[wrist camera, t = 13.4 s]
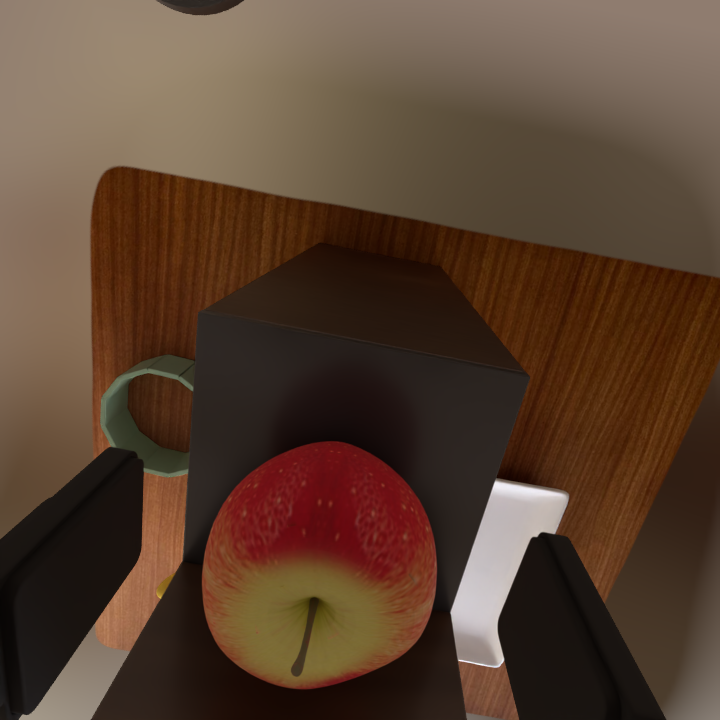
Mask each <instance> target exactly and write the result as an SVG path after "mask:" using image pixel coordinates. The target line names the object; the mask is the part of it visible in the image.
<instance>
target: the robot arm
mask: <svg viewBox="0 0 720 720" xmlns="http://www.w3.org/2000/svg"><path fill="white" fill-rule="evenodd" d="M143 477H144V462H143V460H142V459H139V458H138V455H137V453H136V452H135V451H131V450H126V449H121V448H116V447H109V448H107V449H106V450H105V451H104V452H102V453H101V454H100V455H99V456H98V457H97V458H96V459H94V460H93V461H92V462H91V463H90V464H89V465H88V466H87V467H85V468H84V469H83V470H82V471H81V472H80V473H79V474H78V475H76V476H75V477H74V478H73V479H72V480H71V481H70V482H69V483H67V484H66V485H65V486H64V487H63V488H62V489H61V490H59V491H58V492H57V493H56V494H55V495H54V496H53V497H51V498H48V499H47V500H45V501H44V502H43V503H41V504H40V505H39V506H38V507H37V508H36V509H34V510H33V511H32V512H31V513H30V514H29V515H28V516H26V517H25V518H24V519H23V520H22V521H21V522H20V523H19V524H17V525H16V526H15V527H14V528H13V529H12V530H11V531H9V532H8V533H7V534H6V535H5V536H4V537H3V538H1V539H0V720H19V718H20V717H21V715H22V714H24V715H29V714H30V713H31V712H33V711H34V710H35V708H36V707H37V706H38V704H39V703H40V702H41V700H42V699H43V697H44V696H45V694H46V693H47V691H48V690H49V689H50V687H51V686H52V684H53V683H54V681H55V680H56V678H57V677H58V675H59V674H60V673H61V671H62V670H63V668H64V667H65V665H66V664H67V663H68V661H69V660H70V658H71V657H72V655H73V654H74V652H75V651H76V649H77V648H78V647H79V645H80V644H81V642H82V641H83V639H84V638H85V637H86V635H87V634H88V632H89V631H90V629H91V628H92V626H93V625H94V624H95V622H96V621H97V619H98V618H99V616H100V615H101V613H102V612H103V611H104V609H105V608H106V606H107V605H108V603H109V602H110V600H111V599H112V598H113V596H114V595H115V593H116V592H117V590H118V589H119V587H120V586H121V585H122V583H123V582H124V580H125V579H126V577H127V576H128V574H129V573H130V572H131V570H132V569H133V567H134V566H135V564H136V563H137V561H138V558H139V556H140V552H141V546H142V512H143ZM497 630H498V637H499V641H500V645H501V649H502V653H503V657H504V661H505V665H506V669H507V672H508V676H509V680H510V684H511V688H512V692H513V696H514V700H515V704H516V708H517V712H518V716H519V720H666V718H665V716H664V714H663V712H662V711H661V709H660V707H659V705H658V703H657V701H656V699H655V697H654V696H653V694H652V692H651V690H650V688H649V686H648V684H647V683H646V681H645V679H644V677H643V675H642V673H641V671H640V670H639V668H638V666H637V664H636V662H635V660H634V658H633V657H632V655H631V653H630V651H629V649H628V647H627V645H626V643H625V642H624V640H623V638H622V636H621V634H620V632H619V630H618V629H617V627H616V625H615V623H614V621H613V619H612V617H611V616H610V614H609V612H608V610H607V608H606V606H605V604H604V602H603V601H602V599H601V597H600V595H599V593H598V591H597V589H596V587H595V586H594V584H593V582H592V580H591V578H590V576H589V574H588V573H587V571H586V569H585V567H584V565H583V563H582V561H581V560H580V558H579V556H578V554H577V552H576V550H575V548H574V546H573V545H572V543H571V541H570V540H569V538H568V537H566V536H561V535H556V534H551V533H546V532H541V533H540V534H539V535H538V537H532V538H531V539H530V541H529V544H528V546H527V548H526V551H525V553H524V556H523V558H522V561H521V563H520V566H519V568H518V571H517V573H516V576H515V578H514V581H513V583H512V586H511V588H510V591H509V593H508V596H507V598H506V601H505V603H504V606H503V608H502V611H501V613H500V616H499V619H498V625H497Z"/></svg>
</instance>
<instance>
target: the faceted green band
mask: <svg viewBox="0 0 720 720" xmlns="http://www.w3.org/2000/svg"><path fill="white" fill-rule="evenodd" d="M194 370H195V361H194V360H190V359H185V358H181V357H177V356H173V355H163V356H159V357H156V358H152V359H149V360H145V361H142V362H140V363H139V364H137V365H135V366H134V367H132V368H131V369H129V370H128V371H126V372H125V373H123V374H121V375H120V376H118V377H117V378H116V380H115V381H114V382H113V383H112V385H111V386H110V387H109V388H108V390H107V391H106V392H105V393H104V395H103V396H102V398H101V420H100V424H101V425H102V426H101V428H102V430H103V432H104V433H105V435H106V437H107V439H108V441H109V443H110V445H111V446H112V447H116V448H121V449H126V450H131V451H135V452H136V453H137V455H138V458H139V459H142V460H143V462H144V472H147V473H151V474H155V475H160V476H164V477H169V476H170V477H175V476H179V475H183V474H187V473H188V466H189V452H187V453H184V452H180V451H176V450H171V449H167V448H163V447H160V446H158V445H157V444H156V443H154V442H153V441H152V440H150V439H149V438H148V437H147V436H145V435H144V434H143V433H141V432H140V431H139V430H138V428H137V426H136V424H135V422H134V420H133V418H132V416H131V414H130V412H129V410H128V408H127V405H128V388H129V383H130V382H131V381H132V379H133V378H134V377H135V376H139V375H142V374H146V373H152V374H156V375H160V376H164V377H169V378H173V379H177V380H179V381H180V382H181V383H183V384H184V385H185V386H186V387H188V388H189V389H190V390H191V391H193V386H194Z"/></svg>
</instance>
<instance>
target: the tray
mask: <svg viewBox="0 0 720 720" xmlns="http://www.w3.org/2000/svg"><path fill="white" fill-rule="evenodd" d="M568 500H569V494H568V493H567V492H566V491H563V490H559V489H554V488H549V487H543V486H537V485H532V484H526V483H521V482H515V481H509V480H504V479H499V478H496V480H495V483H494V486H493V489H492V492H491V495H490V498H489V501H488V504H487V506H486V509H485V512H484V515H483V518H482V521H481V524H480V527H479V530H478V533H477V536H476V539H475V542H474V545H473V548H472V551H471V554H470V557H469V560H468V563H467V566H466V569H465V571H464V574H463V577H462V580H461V583H460V586H459V589H458V592H457V595H456V598H455V601H454V604H453V607H452V610H451V618H452V625H453V631H454V638H455V645H456V651H457V658H458V660H459V661H464V662H469V663H474V664H478V665H483V666H489V667H495V668H496V667H499V666H500V665H501V664H502V662H503V661H504V657H503V653H502V649H501V645H500V641H499V637H498V630H497V625H498V619H499V616H500V613H501V611H502V608H503V606H504V603H505V601H506V598H507V596H508V593H509V591H510V588H511V586H512V583H513V581H514V578H515V576H516V573H517V571H518V568H519V566H520V563H521V561H522V558H523V556H524V553H525V551H526V548H527V546H528V544H529V541H530V539H531V538H532V537H538V535H539V534H540V533H541V532H546V533H551V534H555V533H556V530H557V528H558V526H559V523H560V521H561V518H562V516H563V513H564V511H565V509H566V506H567V503H568Z"/></svg>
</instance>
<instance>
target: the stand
mask: <svg viewBox="0 0 720 720" xmlns="http://www.w3.org/2000/svg"><path fill="white" fill-rule="evenodd" d="M529 379H530V376H529V375H528V374H527V373H526V372H525V371H524V369H523V368H522V367H521V366H520V364H519V363H518V362H517V361H516V359H515V358H514V357H513V356H512V354H511V353H510V352H509V351H508V350H507V348H506V347H505V346H504V345H503V343H502V342H501V341H500V340H499V338H498V337H497V336H496V335H495V333H494V332H493V331H492V330H491V328H490V327H489V326H488V325H487V324H486V322H485V321H484V320H483V319H482V317H481V316H480V315H479V314H478V312H477V311H476V310H475V309H474V307H473V306H472V305H471V304H470V302H469V301H468V300H467V299H466V297H465V296H464V295H463V294H462V293H461V291H460V290H459V289H458V288H457V286H456V285H455V284H454V283H453V281H452V280H451V279H450V278H449V276H448V275H447V274H446V273H445V271H444V270H443V269H442V268H441V267H440V266H435V265H430V264H425V263H420V262H415V261H410V260H405V259H399V258H394V257H389V256H384V255H379V254H374V253H369V252H364V251H359V250H353V249H348V248H343V247H338V246H333V245H328V244H323V243H318V244H316V245H315V246H313V247H311V248H310V249H308V250H306V251H304V252H303V253H301V254H299V255H297V256H296V257H294V258H292V259H291V260H289V261H287V262H285V263H284V264H282V265H280V266H278V267H277V268H275V269H273V270H271V271H270V272H268V273H266V274H265V275H263V276H261V277H259V278H258V279H256V280H254V281H252V282H251V283H249V284H247V285H246V286H244V287H242V288H240V289H239V290H237V291H235V292H233V293H232V294H230V295H228V296H226V297H225V298H223V299H221V300H220V301H218V302H216V303H214V304H213V305H211V306H209V307H207V308H206V309H204V310H202V311H200V312H198V322H197V338H196V354H195V370H194V386H193V402H192V418H191V434H190V450H189V466H188V482H187V498H186V514H185V530H184V546H183V562H182V563H181V564H180V566H179V568H178V569H177V571H176V573H175V575H174V576H173V578H172V580H171V582H170V583H169V585H168V587H167V589H166V590H165V592H164V594H163V596H162V597H161V599H160V601H159V602H158V604H157V606H156V608H155V609H154V611H153V613H152V615H151V616H150V618H149V620H148V622H147V623H146V625H145V627H144V628H143V630H142V632H141V634H140V635H139V637H138V639H137V641H136V642H135V644H134V646H133V648H132V649H131V651H130V653H129V655H128V656H127V658H126V660H125V662H124V663H123V665H122V667H121V668H120V670H119V672H118V674H117V675H116V677H115V679H114V681H113V682H112V684H111V686H110V687H109V689H108V691H107V693H106V695H105V696H104V698H103V700H102V701H101V703H100V705H99V707H98V708H97V710H96V712H95V714H94V715H93V717H92V719H91V720H467V718H466V711H465V704H464V698H463V691H462V684H461V678H460V671H459V664H458V658H457V651H456V645H455V638H454V631H453V625H452V618H451V610H452V607H453V604H454V601H455V598H456V595H457V592H458V589H459V586H460V583H461V580H462V577H463V574H464V571H465V569H466V566H467V563H468V560H469V557H470V554H471V551H472V548H473V545H474V542H475V539H476V536H477V533H478V530H479V527H480V524H481V521H482V518H483V515H484V512H485V509H486V506H487V504H488V501H489V498H490V495H491V492H492V489H493V486H494V483H495V480H496V477H497V474H498V471H499V468H500V465H501V462H502V459H503V456H504V453H505V450H506V447H507V444H508V441H509V439H510V436H511V433H512V430H513V427H514V424H515V421H516V418H517V415H518V412H519V409H520V406H521V403H522V400H523V397H524V394H525V391H526V388H527V385H528V382H529ZM326 441H338V442H344V443H348V444H351V445H354V446H356V447H359V448H361V449H363V450H365V451H367V452H369V453H371V454H372V455H374V456H376V457H377V458H379V459H380V460H382V461H383V462H385V463H386V464H387V465H388V466H390V467H391V468H392V469H393V470H394V471H395V472H396V473H397V474H398V475H399V476H401V477H402V478H403V479H404V480H405V482H406V483H407V484H408V485H409V486H410V488H411V489H412V490H413V492H414V493H415V495H416V496H417V497H418V499H419V500H420V502H421V504H422V506H423V508H424V510H425V513H426V515H427V517H428V520H429V523H430V526H431V530H432V533H433V537H434V542H435V549H436V559H437V578H436V592H435V598H434V602H433V607H432V611H431V614H430V617H429V620H428V622H427V625H426V627H425V629H424V631H423V633H422V634H421V636H420V638H419V639H418V640H417V642H416V643H415V644H414V645H413V646H412V647H411V648H410V649H409V650H408V651H407V652H406V653H404V654H403V655H402V656H400V657H399V658H397V659H395V660H394V661H392V662H390V663H388V664H386V665H384V666H382V667H380V668H378V669H376V670H373V671H371V672H369V673H366V674H364V675H361V676H358V677H356V678H353V679H350V680H347V681H344V682H341V683H337V684H334V685H330V686H325V687H320V688H314V689H293V688H286V687H282V686H278V685H275V684H272V683H269V682H266V681H264V680H261V679H259V678H257V677H255V676H253V675H252V674H250V673H248V672H247V671H245V670H244V669H242V668H240V667H239V666H238V665H237V664H235V663H234V662H233V661H232V660H231V659H230V658H228V657H227V656H226V655H225V653H224V652H223V651H222V650H221V649H220V648H219V646H218V645H217V643H216V641H215V639H214V637H213V635H212V633H211V631H210V629H209V626H208V623H207V620H206V616H205V611H204V605H203V592H202V571H203V563H204V555H205V550H206V545H207V542H208V538H209V535H210V532H211V529H212V526H213V523H214V521H215V519H216V517H217V515H218V513H219V511H220V509H221V507H222V505H223V503H224V502H225V501H226V499H227V498H228V496H229V495H230V494H231V492H232V491H233V490H234V488H235V487H236V486H237V485H238V484H239V483H240V482H241V481H242V480H243V479H244V478H245V477H246V476H247V475H249V474H250V473H251V472H252V471H254V470H255V469H257V468H258V467H259V466H261V465H262V464H264V463H265V462H267V461H268V460H270V459H272V458H274V457H276V456H278V455H280V454H282V453H284V452H287V451H289V450H292V449H294V448H297V447H300V446H303V445H307V444H311V443H317V442H326Z"/></svg>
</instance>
